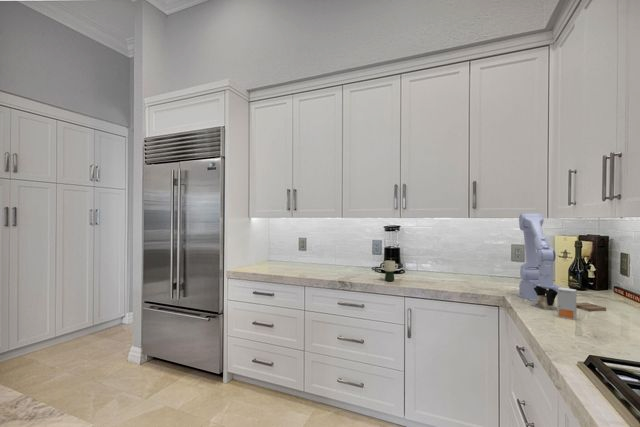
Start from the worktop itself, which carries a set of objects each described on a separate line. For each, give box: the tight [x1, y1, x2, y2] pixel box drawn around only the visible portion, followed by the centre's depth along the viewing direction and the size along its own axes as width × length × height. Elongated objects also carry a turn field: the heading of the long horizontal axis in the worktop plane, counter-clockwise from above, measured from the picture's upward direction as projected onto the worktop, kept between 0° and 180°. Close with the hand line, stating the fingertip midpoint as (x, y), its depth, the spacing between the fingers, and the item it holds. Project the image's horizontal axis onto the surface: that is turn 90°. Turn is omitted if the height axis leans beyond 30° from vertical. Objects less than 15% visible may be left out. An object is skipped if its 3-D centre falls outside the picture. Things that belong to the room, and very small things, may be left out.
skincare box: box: [556, 287, 577, 320], centre depth 140 cm, size 6×4×12 cm
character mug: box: [381, 260, 399, 282], centre depth 221 cm, size 11×7×13 cm, turn 91°
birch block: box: [537, 294, 555, 309], centre depth 156 cm, size 4×5×5 cm
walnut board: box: [576, 302, 607, 313], centre depth 154 cm, size 9×9×2 cm
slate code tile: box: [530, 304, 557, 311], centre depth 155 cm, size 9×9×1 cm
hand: (546, 304), depth 155 cm, fingers closed on birch block, 4 cm apart
